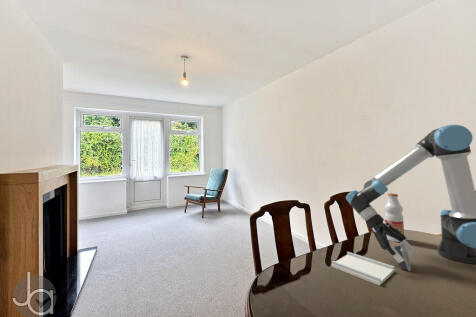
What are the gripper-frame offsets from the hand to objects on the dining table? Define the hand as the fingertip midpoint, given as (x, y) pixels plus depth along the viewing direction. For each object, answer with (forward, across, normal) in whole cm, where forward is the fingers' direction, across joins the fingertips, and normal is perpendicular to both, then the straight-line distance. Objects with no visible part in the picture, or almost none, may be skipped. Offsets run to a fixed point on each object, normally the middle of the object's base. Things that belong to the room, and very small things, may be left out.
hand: (408, 257), depth 96 cm
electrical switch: (+2, 0, -5) cm, 5 cm away
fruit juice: (-10, -35, -17) cm, 40 cm away
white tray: (-5, +17, -12) cm, 21 cm away
